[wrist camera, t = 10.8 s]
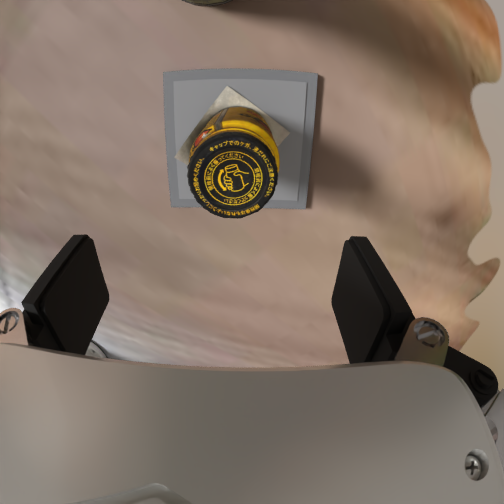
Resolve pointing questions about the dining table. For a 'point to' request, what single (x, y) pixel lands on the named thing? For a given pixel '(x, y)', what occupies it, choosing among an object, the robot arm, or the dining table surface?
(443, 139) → the dining table surface
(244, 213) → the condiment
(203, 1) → the thermos
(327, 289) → the dining table surface
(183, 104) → the plate
